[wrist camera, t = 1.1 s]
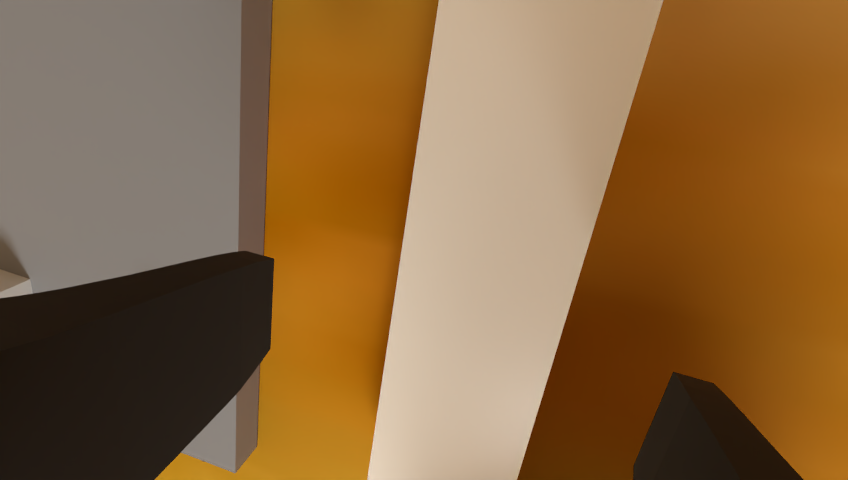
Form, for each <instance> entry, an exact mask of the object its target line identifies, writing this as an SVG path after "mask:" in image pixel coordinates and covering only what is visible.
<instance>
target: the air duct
mask: <svg viewBox="0 0 848 480" xmlns="http://www.w3.org/2000/svg"><path fill="white" fill-rule="evenodd" d="M662 3H663V0H439V3H438V10H437V16H436V23H435V30H434V36H433V43H432V50H431V56H430V63H429V70H428V77H427V83H426V90H425V97H424V103H423V110H422V117H421V123H420V130H419V137H418V144H417V150H416V157H415V164H414V170H413V177H412V184H411V191H410V197H409V204H408V211H407V217H406V224H405V231H404V237H403V244H402V251H401V258H400V264H399V271H398V278H397V284H396V291H395V298H394V304H393V311H392V318H391V325H390V331H389V338H388V345H387V351H386V358H385V365H384V371H383V378H382V385H381V392H380V398H379V405H378V412H377V418H376V425H375V432H374V438H373V445H372V452H371V459H370V465H369V472H368V479H367V480H517V478H518V475H519V471H520V468H521V465H522V461H523V458H524V455H525V452H526V448H527V445H528V442H529V439H530V435H531V432H532V429H533V425H534V422H535V419H536V416H537V412H538V409H539V406H540V403H541V399H542V396H543V393H544V389H545V386H546V383H547V380H548V376H549V373H550V370H551V367H552V363H553V360H554V357H555V353H556V350H557V347H558V344H559V340H560V337H561V334H562V330H563V327H564V324H565V321H566V317H567V314H568V311H569V308H570V304H571V301H572V298H573V294H574V291H575V288H576V285H577V281H578V278H579V275H580V272H581V268H582V265H583V262H584V258H585V255H586V252H587V249H588V245H589V242H590V239H591V236H592V232H593V229H594V226H595V222H596V219H597V216H598V213H599V209H600V206H601V203H602V200H603V196H604V193H605V190H606V186H607V183H608V180H609V177H610V173H611V170H612V167H613V164H614V160H615V157H616V154H617V150H618V147H619V144H620V141H621V137H622V134H623V131H624V128H625V124H626V121H627V118H628V114H629V111H630V108H631V105H632V101H633V98H634V95H635V92H636V88H637V85H638V82H639V78H640V75H641V72H642V69H643V65H644V62H645V59H646V56H647V52H648V49H649V46H650V42H651V39H652V36H653V33H654V29H655V26H656V23H657V20H658V16H659V13H660V10H661V6H662Z"/></svg>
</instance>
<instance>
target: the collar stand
mask: <svg viewBox="0 0 848 480" xmlns="http://www.w3.org/2000/svg"><path fill="white" fill-rule="evenodd" d="M271 21H272V0H0V298H6V297H13V296H20V295H27V294H33V293H39V292H45V291H51V290H57V289H62V288H67V287H72V286H77V285H82V284H87V283H92V282H97V281H102V280H107V279H112V278H116V277H121V276H126V275H131V274H135V273H140V272H144V271H148V270H153V269H157V268H161V267H165V266H170V265H174V264H178V263H183V262H187V261H191V260H196V259H200V258H205V257H209V256H214V255H219V254H225V253H230V252H238V251H249V252H252V253H256V254H259V255H263V254H264V225H265V196H266V167H267V137H268V108H269V79H270V50H271ZM259 370H260V364H259V365H258V367H257V368H256V370H255V371H254V372H253V374H252V375H251V376H250V378H249V379H248V380H247V382H246V383H245V384H244V386H243V387H242V388H241V390H240V391H239V392H238V393H237V394H236V395H235V396H234V397H233V398H232V399H231V401H230V402H229V403H228V404H227V405H226V406H225V407H224V408H223V409H222V410H221V411H220V412H219V413H218V414H217V415H216V416H215V417H214V418H213V419H212V421H211V422H210V423H209V424H208V425H207V426H206V427H205V428H204V429H203V430H202V431H201V432H200V433H199V434H198V435H197V436H196V437H195V438H194V439H193V440H192V441H191V442H190V443H189V444H188V445H187V446H186V447H185V448H184V449H183V450H182V452H181V453H184V454H187V455H189V456H192V457H195V458H197V459H200V460H202V461H205V462H208V463H210V464H213V465H215V466H218V467H221V468H223V469H226V470H228V471H231V472H234V473H236V472H237V470H238V469H239V468H240V467H241V465H242V464H243V463H244V462H245V461H246V459H247V458H248V457H249V456H250V454H251V453H252V452H253V451H254V449H255V448H256V447H257V428H258V399H259Z"/></svg>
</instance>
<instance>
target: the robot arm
mask: <svg viewBox="0 0 848 480" xmlns="http://www.w3.org/2000/svg"><path fill="white" fill-rule="evenodd" d="M273 271H274V259H273V258H270V257H266V256H263V255H259V254H256V253H252V252H249V251H238V252H230V253H225V254H219V255H214V256H209V257H205V258H200V259H196V260H191V261H187V262H183V263H178V264H174V265H170V266H165V267H161V268H157V269H153V270H148V271H144V272H140V273H135V274H131V275H126V276H121V277H116V278H112V279H107V280H102V281H97V282H92V283H87V284H82V285H77V286H72V287H67V288H62V289H57V290H51V291H45V292H39V293H33V294H27V295H20V296H13V297H6V298H0V480H154V479H155V478H156V477H157V476H158V475H159V474H160V473H161V472H162V471H163V470H164V469H165V468H166V467H167V466H168V465H169V464H170V463H171V462H172V461H173V460H174V459H175V458H176V457H177V456H178V455H179V454H180V453H181V452H182V450H183V449H184V448H185V447H186V446H187V445H188V444H189V443H190V442H191V441H192V440H193V439H194V438H195V437H196V436H197V435H198V434H199V433H200V432H201V431H202V430H203V429H204V428H205V427H206V426H207V425H208V424H209V423H210V422H211V421H212V419H213V418H214V417H215V416H216V415H217V414H218V413H219V412H220V411H221V410H222V409H223V408H224V407H225V406H226V405H227V404H228V403H229V402H230V401H231V399H232V398H233V397H234V396H235V395H236V394H237V393H238V392H239V391H240V390H241V388H242V387H243V386H244V384H245V383H246V382H247V380H248V379H249V378H250V376H251V375H252V374H253V372H254V371H255V370H256V368H257V367H258V365H259V364H260V363H261V361H262V360H263V358H264V357H265V355H266V354H267V353H268V351H269V350H270V344H271V319H272V295H273ZM633 480H803V479H802V478H801V476H800V475H799V474H798V473H797V472H796V471H795V470H794V469H793V468H792V467H791V466H790V465H789V464H788V462H787V461H786V460H785V459H784V458H783V457H782V456H781V455H780V454H779V453H778V452H777V450H776V449H775V448H774V447H773V446H772V445H771V444H770V443H769V442H768V441H767V439H766V438H765V437H764V436H763V435H762V434H761V433H760V432H759V431H758V430H757V428H756V427H755V426H754V425H753V424H752V423H751V422H750V421H749V420H748V419H747V417H746V416H745V415H744V414H743V413H742V412H741V411H740V410H739V409H738V408H737V407H736V405H735V404H734V403H733V402H732V401H731V400H730V399H729V398H728V397H727V396H726V395H725V394H724V393H723V392H722V391H721V390H720V389H719V388H718V387H717V386H716V385H715V384H714V383H710V382H707V381H703V380H700V379H696V378H693V377H689V376H686V375H682V374H679V373H675V372H673V374H672V376H671V378H670V381H669V383H668V386H667V388H666V390H665V393H664V395H663V397H662V400H661V402H660V405H659V407H658V409H657V412H656V414H655V416H654V419H653V421H652V423H651V426H650V428H649V431H648V433H647V435H646V438H645V440H644V442H643V445H642V447H641V449H640V452H639V454H638V457H637V459H636V461H635V464H634V474H633Z"/></svg>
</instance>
